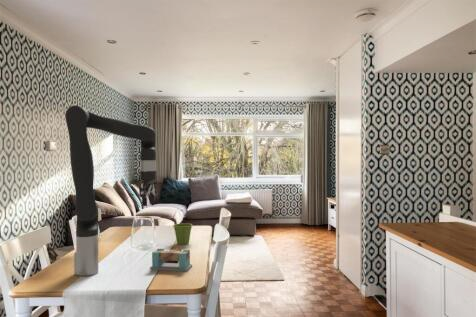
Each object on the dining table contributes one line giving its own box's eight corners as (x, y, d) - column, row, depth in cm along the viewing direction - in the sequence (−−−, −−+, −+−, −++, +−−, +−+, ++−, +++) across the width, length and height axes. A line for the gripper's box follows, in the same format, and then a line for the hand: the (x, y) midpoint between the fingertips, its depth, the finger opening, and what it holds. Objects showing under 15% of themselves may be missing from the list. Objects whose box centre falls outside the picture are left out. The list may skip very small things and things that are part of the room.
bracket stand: (149, 269, 168) (149, 252, 168) (156, 264, 176) (156, 248, 176) (187, 271, 166) (186, 254, 166) (192, 266, 173) (192, 249, 173)
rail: (153, 259, 170) (153, 252, 170) (156, 257, 174) (156, 250, 174) (186, 261, 168) (186, 253, 168) (188, 259, 172) (188, 251, 172)
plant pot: (194, 241, 225) (194, 223, 225) (190, 245, 213) (190, 226, 213) (176, 240, 226) (175, 222, 226) (170, 245, 215) (170, 226, 215)
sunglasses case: (166, 254, 195) (172, 243, 195) (177, 260, 195) (183, 250, 195) (160, 264, 177) (167, 252, 177) (172, 271, 177) (179, 259, 177)
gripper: (146, 169, 177) (147, 202, 177) (133, 170, 163) (134, 206, 163) (161, 169, 176) (161, 202, 176) (149, 170, 162) (149, 206, 162)
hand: (148, 204), depth 170 cm, fingers open, 8 cm apart
